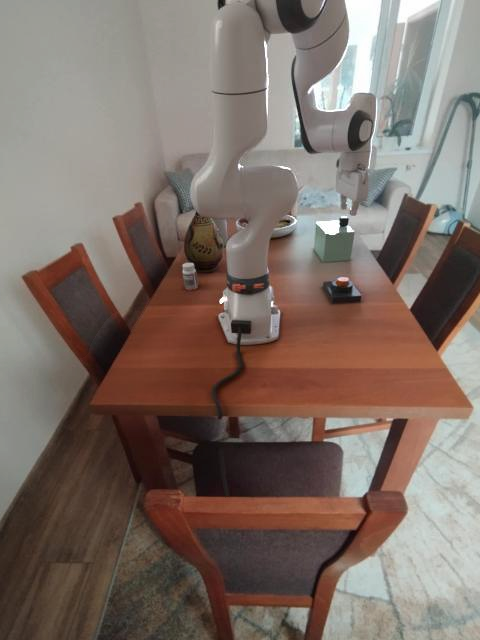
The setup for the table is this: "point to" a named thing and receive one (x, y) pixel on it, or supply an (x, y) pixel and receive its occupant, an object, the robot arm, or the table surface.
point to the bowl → (281, 229)
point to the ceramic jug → (203, 244)
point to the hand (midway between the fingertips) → (347, 212)
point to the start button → (342, 281)
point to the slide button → (343, 221)
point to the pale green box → (333, 241)
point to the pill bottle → (190, 276)
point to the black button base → (341, 292)
